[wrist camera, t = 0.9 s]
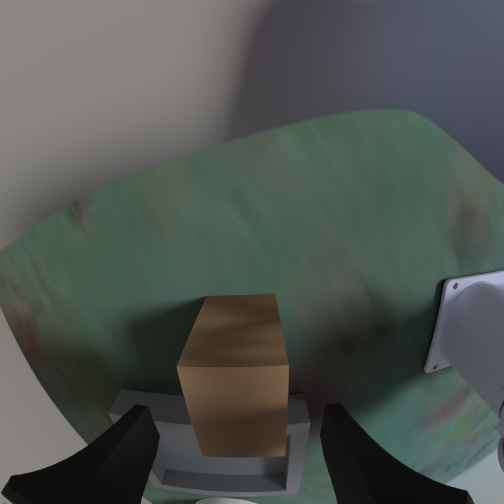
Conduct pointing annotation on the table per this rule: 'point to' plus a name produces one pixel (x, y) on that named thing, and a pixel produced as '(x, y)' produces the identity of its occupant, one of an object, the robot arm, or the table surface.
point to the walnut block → (237, 377)
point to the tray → (217, 468)
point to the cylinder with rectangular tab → (222, 501)
